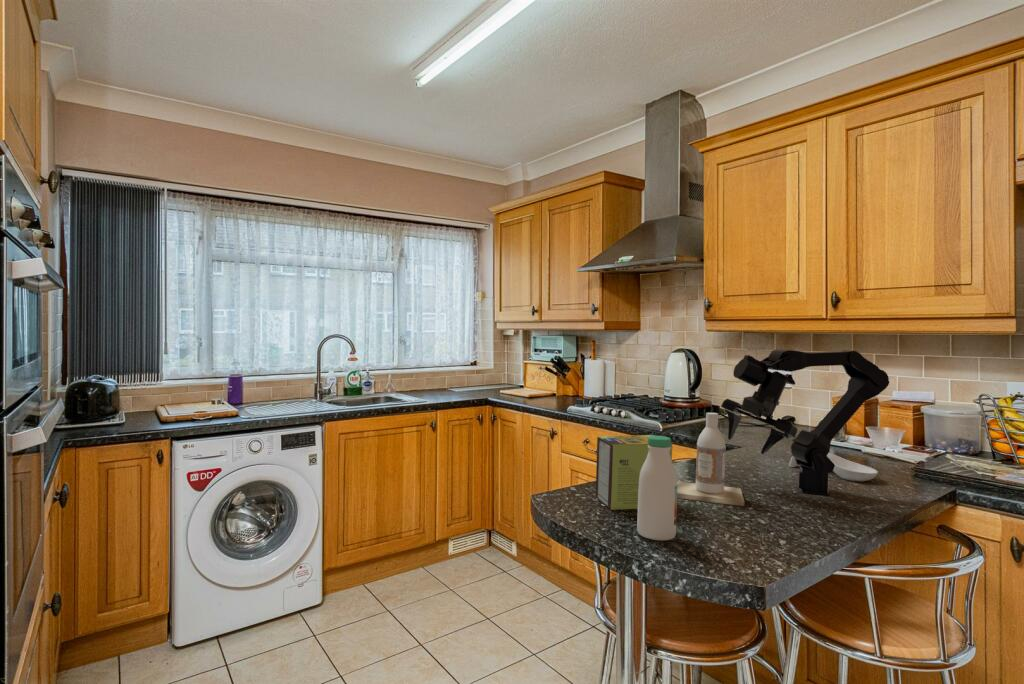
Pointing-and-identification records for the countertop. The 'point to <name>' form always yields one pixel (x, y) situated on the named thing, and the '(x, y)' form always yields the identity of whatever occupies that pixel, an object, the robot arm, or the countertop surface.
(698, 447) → the bath foam
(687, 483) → the birch board
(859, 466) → the spoon rest
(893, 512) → the countertop surface
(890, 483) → the countertop surface
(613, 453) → the protein box
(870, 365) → the robot arm
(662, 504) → the milk bottle
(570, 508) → the countertop surface
